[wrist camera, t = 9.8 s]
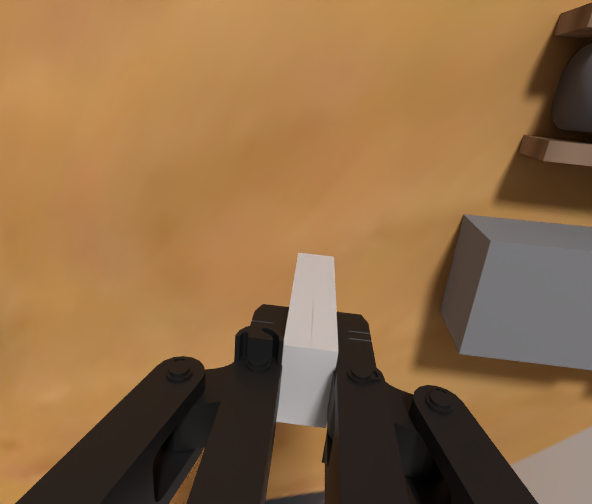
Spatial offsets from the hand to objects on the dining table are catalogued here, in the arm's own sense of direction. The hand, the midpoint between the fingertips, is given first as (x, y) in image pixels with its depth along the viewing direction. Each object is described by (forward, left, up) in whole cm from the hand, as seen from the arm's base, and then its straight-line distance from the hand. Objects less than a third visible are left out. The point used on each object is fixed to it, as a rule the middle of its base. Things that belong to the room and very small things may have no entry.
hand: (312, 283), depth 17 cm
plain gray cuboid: (+14, -2, -10) cm, 17 cm away
